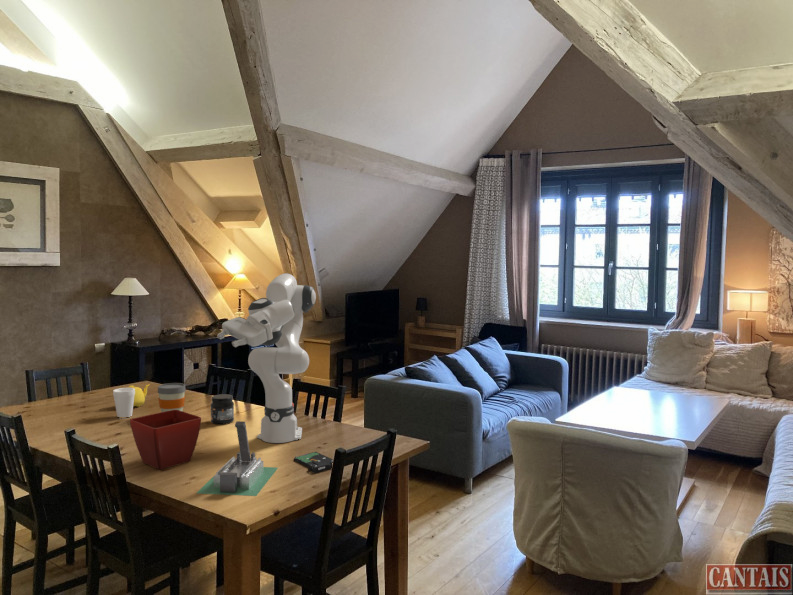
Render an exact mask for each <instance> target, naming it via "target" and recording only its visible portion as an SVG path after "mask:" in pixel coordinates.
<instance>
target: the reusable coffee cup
mask: <svg viewBox="0 0 793 595" xmlns="http://www.w3.org/2000/svg"><path fill="white" fill-rule="evenodd" d="M185 393H186V385H185V383H181V382H170V383H162V384H159V385H158V387H157V394H158V398H157V399H158V404H159V409H160V413H161V412H165V411H170V410H179V411H182V412H184V410H183V409H184V406H185V399H186V396H185Z"/></svg>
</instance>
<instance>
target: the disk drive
mask: <svg viewBox="0 0 793 595" xmlns="http://www.w3.org/2000/svg"><path fill="white" fill-rule="evenodd" d="M333 460H334V459H333V458H331V457H328V456H326V455H325V454H322V453H319V452H317V451H314V452H313V451H312V452H309V453H305V454H303V455H299V456H295V457H294V458H293V461H295V462H296V463H299V464H301V465H302V466H305V467H306V468H307V470H308V471H310V472H311V473H313V474H319V473H321V472H322V473H323V472H325V471H329V470H332V469H331V468H332V463H333Z"/></svg>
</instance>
